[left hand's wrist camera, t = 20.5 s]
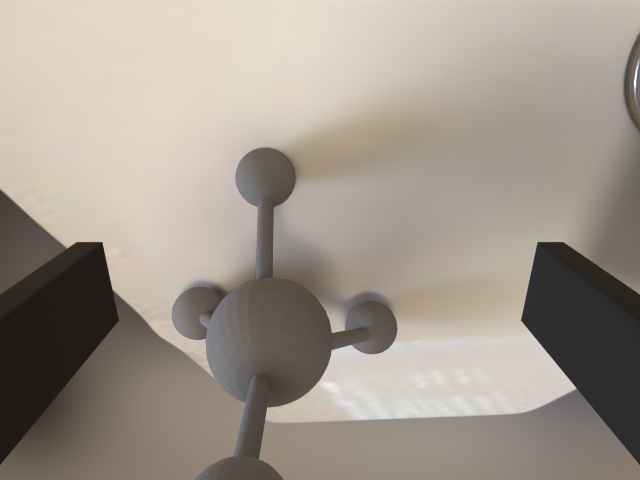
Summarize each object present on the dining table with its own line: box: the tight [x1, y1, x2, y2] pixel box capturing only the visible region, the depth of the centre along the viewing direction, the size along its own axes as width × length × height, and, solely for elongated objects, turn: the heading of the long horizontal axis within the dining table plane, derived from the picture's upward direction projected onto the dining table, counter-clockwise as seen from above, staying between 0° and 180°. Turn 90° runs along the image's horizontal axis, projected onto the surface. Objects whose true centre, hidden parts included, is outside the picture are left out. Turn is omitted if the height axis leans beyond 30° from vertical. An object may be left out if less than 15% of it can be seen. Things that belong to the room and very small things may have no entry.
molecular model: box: [172, 148, 397, 480], centre depth 30 cm, size 24×22×30 cm
